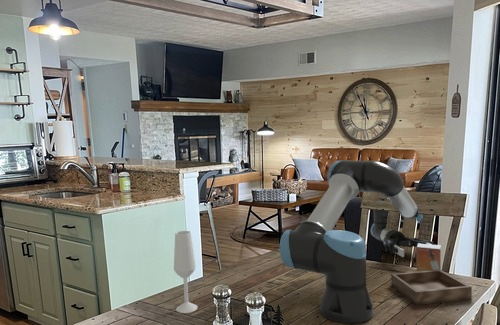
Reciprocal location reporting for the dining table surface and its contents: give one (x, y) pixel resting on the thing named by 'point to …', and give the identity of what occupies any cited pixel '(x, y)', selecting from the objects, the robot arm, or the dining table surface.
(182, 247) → the champagne flute
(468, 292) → the wooden tray
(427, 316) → the dining table surface
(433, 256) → the small box
